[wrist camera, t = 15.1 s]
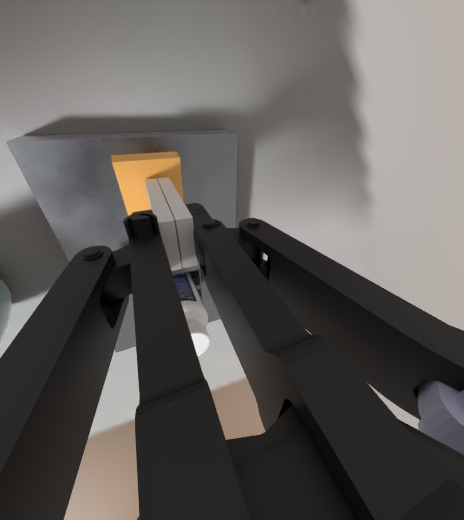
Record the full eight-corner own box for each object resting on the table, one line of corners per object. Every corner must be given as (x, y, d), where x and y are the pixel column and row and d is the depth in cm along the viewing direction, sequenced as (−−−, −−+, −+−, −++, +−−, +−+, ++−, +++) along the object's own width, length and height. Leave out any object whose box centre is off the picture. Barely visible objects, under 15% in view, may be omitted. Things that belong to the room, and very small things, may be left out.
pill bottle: (136, 286, 26) (143, 360, 18) (168, 255, 25) (189, 318, 18) (170, 304, 29) (188, 372, 22) (199, 277, 29) (228, 337, 21)
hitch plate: (116, 332, 28) (116, 366, 25) (22, 135, 15) (-7, 146, 12) (225, 299, 33) (238, 324, 29) (224, 129, 20) (247, 136, 16)
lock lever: (140, 261, 21) (142, 272, 20) (107, 154, 14) (108, 164, 13) (186, 251, 22) (190, 261, 21) (178, 149, 15) (183, 158, 14)
